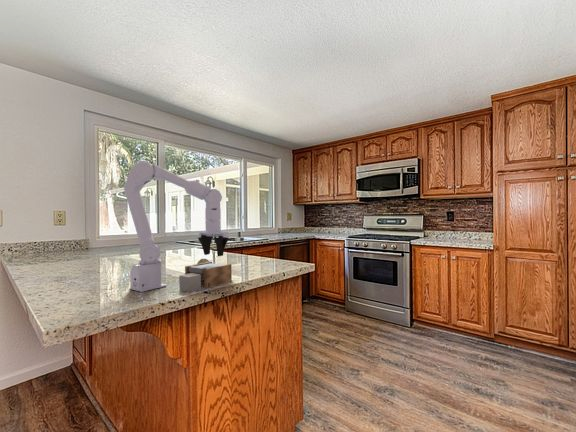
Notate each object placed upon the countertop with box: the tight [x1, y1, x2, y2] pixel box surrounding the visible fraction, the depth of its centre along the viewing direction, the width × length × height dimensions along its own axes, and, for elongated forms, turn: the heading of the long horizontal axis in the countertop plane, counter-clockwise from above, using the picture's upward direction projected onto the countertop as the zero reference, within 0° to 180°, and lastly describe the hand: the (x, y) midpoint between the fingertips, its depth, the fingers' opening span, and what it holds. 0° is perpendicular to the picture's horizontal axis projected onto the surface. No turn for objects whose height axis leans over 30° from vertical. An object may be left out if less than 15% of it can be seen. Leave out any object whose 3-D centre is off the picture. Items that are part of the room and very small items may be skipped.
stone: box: [179, 273, 202, 293], centre depth 99 cm, size 5×5×5 cm
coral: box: [196, 258, 211, 264], centre depth 124 cm, size 14×6×6 cm, turn 19°
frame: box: [184, 261, 233, 288], centre depth 109 cm, size 12×12×6 cm
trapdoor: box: [189, 262, 223, 274], centre depth 109 cm, size 11×9×2 cm
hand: (213, 255), depth 111 cm, fingers open, 7 cm apart
